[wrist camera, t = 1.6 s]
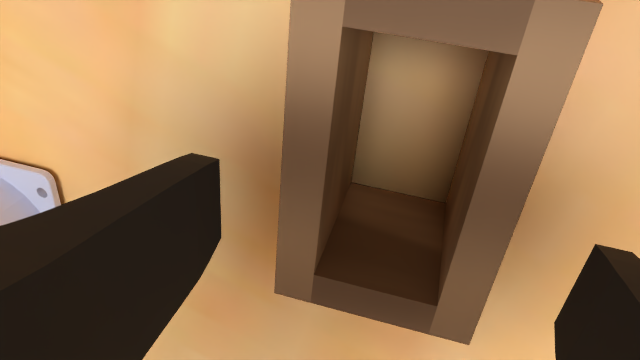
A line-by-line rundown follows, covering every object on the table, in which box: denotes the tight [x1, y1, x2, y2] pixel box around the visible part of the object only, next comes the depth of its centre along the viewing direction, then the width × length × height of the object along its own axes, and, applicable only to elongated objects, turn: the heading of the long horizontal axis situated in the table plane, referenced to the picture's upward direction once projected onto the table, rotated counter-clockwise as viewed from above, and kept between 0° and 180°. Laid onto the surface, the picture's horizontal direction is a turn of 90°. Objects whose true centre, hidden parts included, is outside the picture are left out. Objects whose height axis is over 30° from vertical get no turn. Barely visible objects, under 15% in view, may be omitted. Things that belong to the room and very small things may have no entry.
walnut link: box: [274, 0, 603, 345], centre depth 13 cm, size 9×6×5 cm, turn 175°
